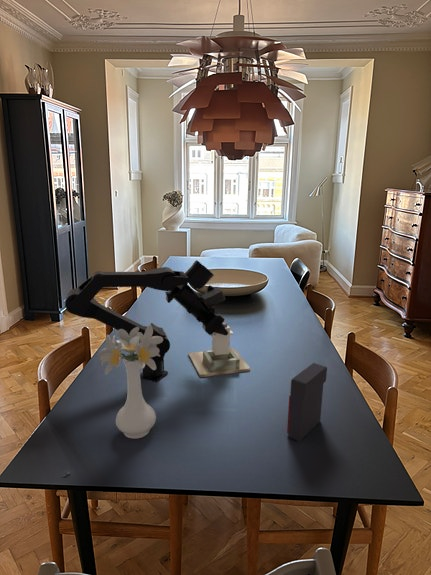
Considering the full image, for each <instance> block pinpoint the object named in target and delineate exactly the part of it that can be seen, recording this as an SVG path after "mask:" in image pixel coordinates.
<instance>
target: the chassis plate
mask: <svg viewBox="0 0 431 575" xmlns="http://www.w3.org/2000/svg"><path fill="white" fill-rule="evenodd" d="M188 358H189V359H190V361H191V363H192V365H193V367H194V369H195V371H196V373H197V374H198V376H199V378H204V377H212V376H219V375H227V374H229V375H230V374H234V373H242V372H250V371H251V367H250V366H249V365H248V363H246V361H245V360H244V359H243V357H242V356H241V355H240V354H239V353H238V351H237V350H236V349H235V347H230V354H222V355H215V354H214V352H213V351H212V349H208V350H203V351H195V352H188Z"/></svg>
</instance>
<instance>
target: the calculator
mask: <svg viewBox="0 0 431 575" xmlns="http://www.w3.org/2000/svg"><path fill="white" fill-rule="evenodd" d="M327 372H328V367H327V366H325V365H321V364H319V363H315V362H313V363H312V364H310V365H309V366H307V367H306V368H304V369H303V370H302V371H300V372H299V373H298V374H296V375H295V376H294V377H292V378H291V379H290V388H289V390H290V391H289V396H288V408H287V409H288V411H287V428H286V433H287V436H288V438H290V439H293V440H295V441H298V442H301V441H302V440H303V439H304V437H305V436H307V435H308V434H309V433H310V432H311V431H312V430H313V429H314V428H315V427H316V426H317V425H318V424H319V423H320V422H321V417H322V403H323V395H324V394H323V392H324V383H325V382H327V375H328V374H327Z"/></svg>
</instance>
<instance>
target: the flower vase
mask: <svg viewBox="0 0 431 575" xmlns="http://www.w3.org/2000/svg"><path fill="white" fill-rule="evenodd" d="M138 331H139V327H135V328H134V329H132V331H131V332H130V334H129V335H128V333H127V332H126V331H125V330H123V329H119V330H117V336H118V337H119V339H116V335H113V337H112V338H111V336H110V334H107V335H106V336H105V346H106V347H104V348H102V349H100V350H99V352H98V353H97V357H99V358H100V359H99V361H100V362H101V364H100V366H101V367H103V366H104V365H105V364H106V363H107V365H106V367H105V369H104V375H105V376H107V375H109V373H110V372H111V371H112V370H113V368H114V367H115V368H119V367H120V365H121V360H122V362H123V364H124V366H125V370H126V380H127V381H126V383H127V384H126V385H127V390H126V391H127V393H126V395H127V396H126V401H125V403H124V405H123V406H122V407H120V409H119V411H118V412H117V414H116V416H115V424H116V428H118V430H119V431H120V432H122V434H123V435H124V437H126V438H129V439H134V440H137V439H140V438H141V439H142V438H144V437H146V436H147V435H148V434H149V433H150V430H151V429H152V428H153V427H154V425H155V423H156V420H157V414H156V412H155V409H153V407H152V406H151V405H150V404H149V403H147V402H146V400H145V398H144V396H143V391H142V380H141V379H142V378H141V377H140V374H141V370H142V369H143V368H144V367H145V363H146V364H147V365H148V366H149V367H150V368H151V369H153V370H156V364H155V362H154V361H153V359H151V358H150V357H154V356H156V355H157V356H160V355H159V348H157V346H156V344H160V343H161V342H162V341H163V338H162V337H160V336H153V337H151V336H152V334H153V327H152V326H151V324H150V325H148V326H147V328H146V331H145V334H144V335H143V334H142V333H141V332H138ZM150 337H151V338H150ZM121 351H124V352H127V354H125V353H123V352H121Z"/></svg>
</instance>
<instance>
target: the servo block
mask: <svg viewBox="0 0 431 575" xmlns="http://www.w3.org/2000/svg"><path fill="white" fill-rule="evenodd" d="M222 324H223V326H224V327H225V329H226V330H227V331H228V334H227V335H222V334H218V333H214V332H213V334H212V335H210V337H211V350H212V351H213V352H214V354H215V355H222V354H230V348H231V336H232V335H234V332H233V330H231V327H230V326H229V325H228V322H225V321H224V322H223V323H222Z"/></svg>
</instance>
